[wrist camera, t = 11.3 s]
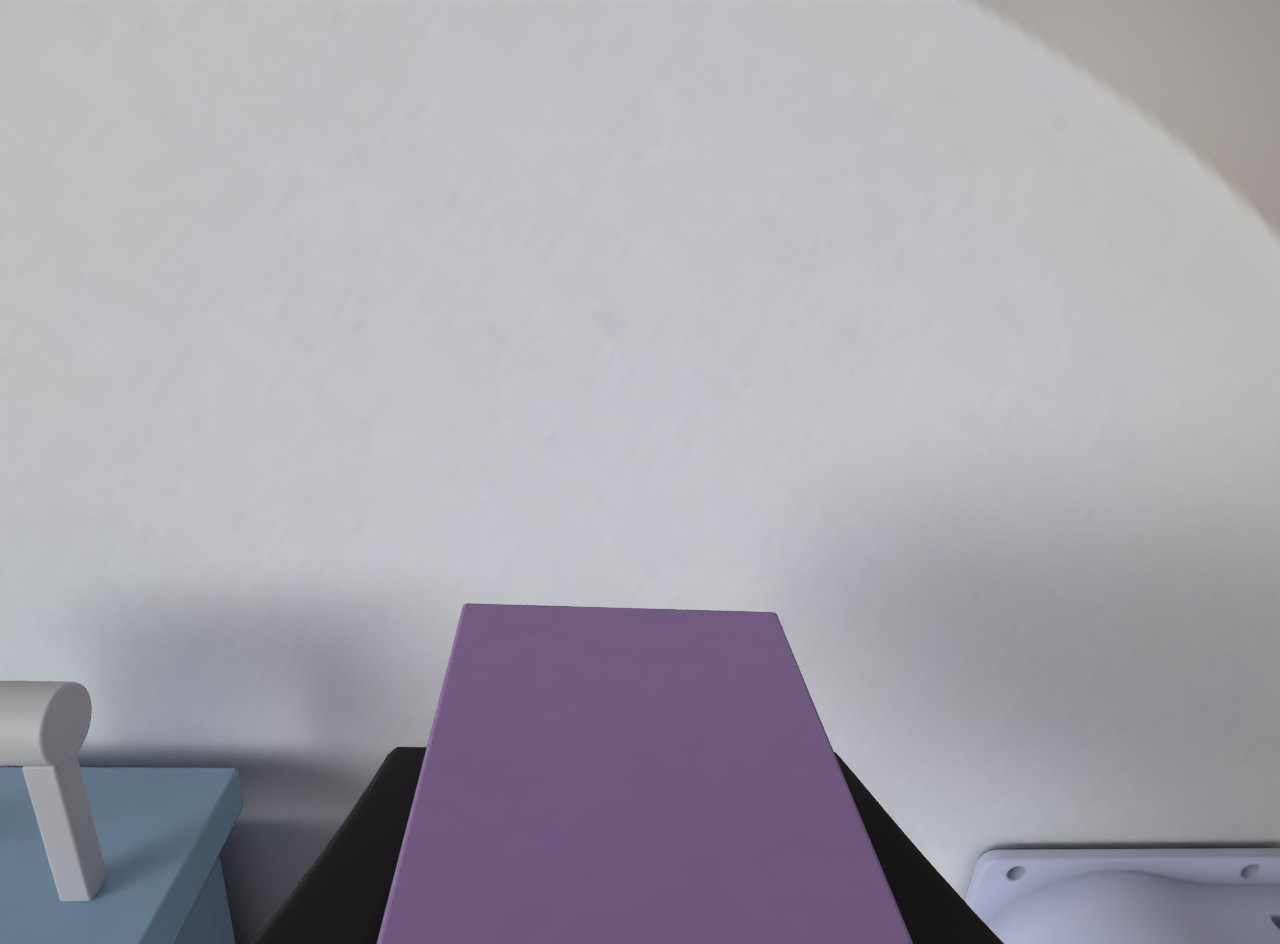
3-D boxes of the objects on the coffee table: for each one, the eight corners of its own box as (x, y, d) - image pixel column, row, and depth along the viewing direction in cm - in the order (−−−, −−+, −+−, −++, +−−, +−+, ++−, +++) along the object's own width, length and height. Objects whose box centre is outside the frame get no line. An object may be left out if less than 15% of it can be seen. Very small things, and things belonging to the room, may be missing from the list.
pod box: (776, 610, 10) (936, 990, 6) (739, 842, 12) (840, 1291, 7) (463, 601, 10) (359, 1000, 5) (465, 841, 11) (386, 1313, 7)
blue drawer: (-186, 582, 16) (-515, 770, 11) (211, 591, 17) (62, 772, 12) (-16, 1038, 21) (-189, 1298, 17) (280, 1031, 22) (196, 1278, 17)
